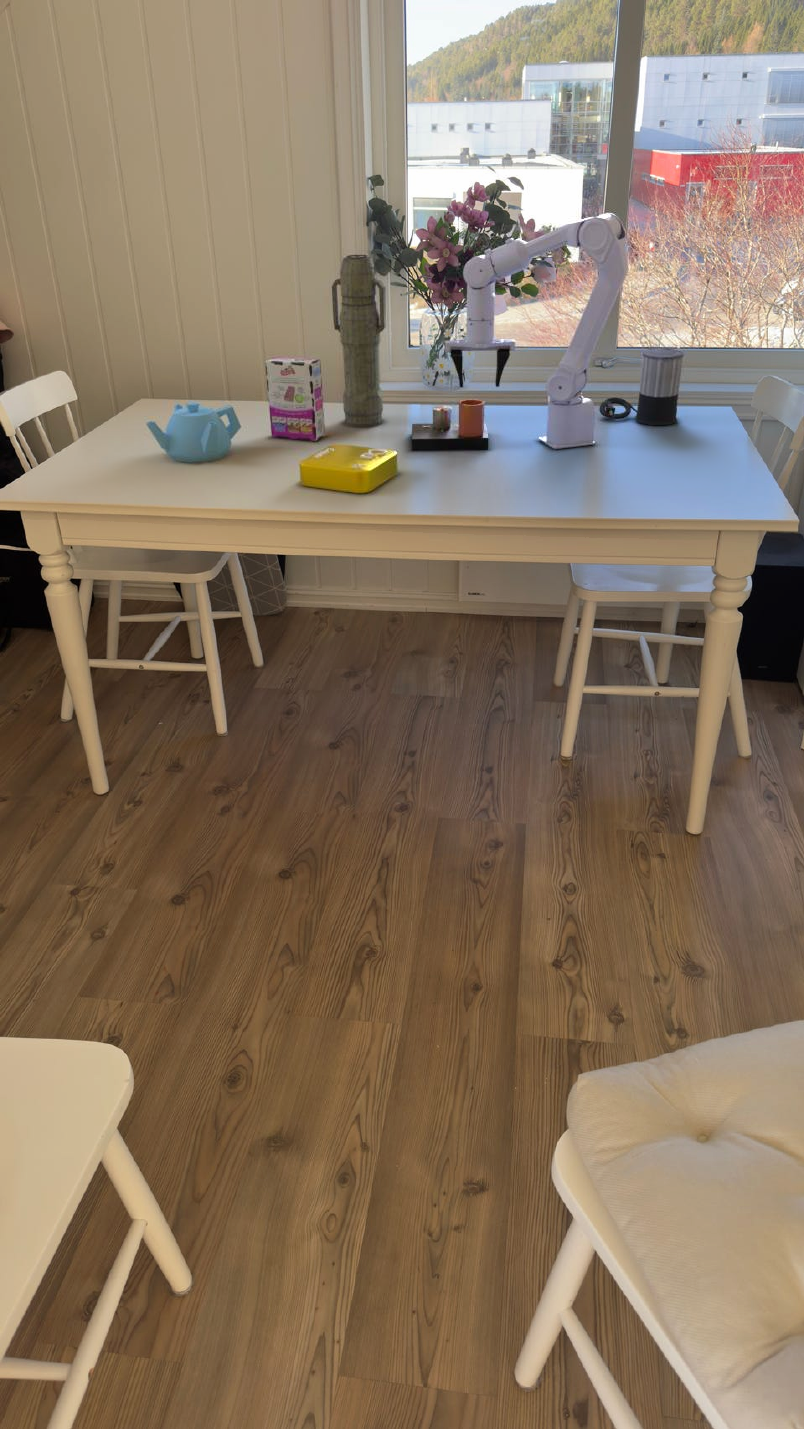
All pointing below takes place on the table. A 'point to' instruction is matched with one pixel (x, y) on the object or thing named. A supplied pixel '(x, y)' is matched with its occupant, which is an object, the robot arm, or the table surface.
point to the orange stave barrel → (471, 417)
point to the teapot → (197, 433)
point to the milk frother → (653, 389)
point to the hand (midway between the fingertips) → (479, 386)
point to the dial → (441, 417)
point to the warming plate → (445, 439)
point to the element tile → (348, 468)
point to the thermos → (360, 339)
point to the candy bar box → (295, 398)
